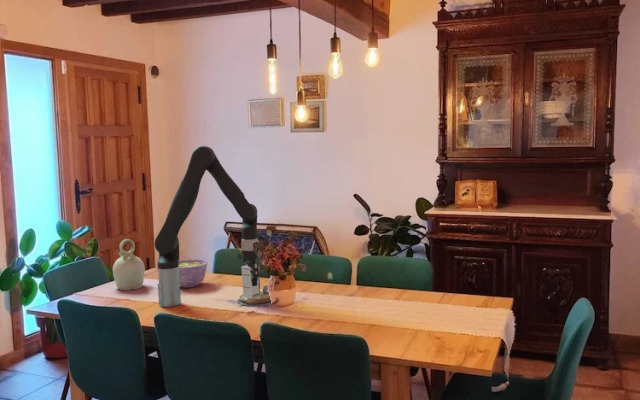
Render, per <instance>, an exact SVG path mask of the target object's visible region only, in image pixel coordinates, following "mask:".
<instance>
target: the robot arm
mask: <svg viewBox="0 0 640 400" xmlns="http://www.w3.org/2000/svg"><path fill="white" fill-rule="evenodd" d="M206 171H207V172H208V173H209V174H210V175H211V176H212V178H213V179H214V180H215V182H216V184H217V186H218V187H219V189H220V191H221V192H222V193H223V195H224V196H225V197H226V199H227V200H228V201H229V202H230V203H231V204H232V206H233V208H234V209H235V211H236V213H237V214H238V216H239V217H240V218H241V219H242V220H241V221H242V226H241V259H242V260H243V261H242V264H243V265H242V266H248V267H251V269H253V271H251V270H250V273H251V276H252V286H257V277H259V276H260V265H259V263H256V260H258V259H259V258H258V256H257V255H256V254H255V252H254V250H253V243H255V242H257V241H258V242H259V238H258V226H257V225H258V209H257V206H256V205H254V204H253V203H250V202H249V200H248V199H247V198H246V197H245V194H244V192H243V191H242V190H241V188H240V187H239V185H238V184H237V183H236V182H235V180H233V178H232V177H231V176H230V175H229V174H228V172H227V171H226V170H225V168H224V167H223V166H222V164H221V162H220V161H219V159H218V157H217V155H216V153H215V152H214V150H213V149H212V147H210V146H207V145H202V146H201V145H200V146H197V147H196V148H194V150H193V151H192V153H191V156H190V160H189V163H188V165H187V169H186V172H185V174H184V176H183V178H182V180H181V182H180V184H179V186H178V188H177V190H176V192H175V194H174V197H173V199H172V201H171V204H170V208H169V210H168V212H167V214H166V215H167V216H166V219H165V221H164V223H163V225H162V227H161V228H160V230H159V232H158V234H157V236H156V237H155V239H154V248H155V250H156V252H157V253H158V260H157V277H158V283H157V293H158V294H157V295H158V305H159V306H160V307H161V308H167V307H168V308H170V307H171V308H172V307H176V306H180V305H181V303H182V299H181V298H182V297H181V286H180V279H179V260H180V241H179V240H180V239H179V237H178V235H179V232H180V230H181V228H182V226H183V225H184V223H185V222H186V220H187V219H188V218H189V215H190V214H191V212H192V210H193V209H194V206H195V204H196V201H197V199H198V195H199V191H200V186H201V183H202V179H203V177H204V174H205V173H206Z"/></svg>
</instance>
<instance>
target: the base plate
mask: <svg viewBox="0 0 640 400" xmlns="http://www.w3.org/2000/svg"><path fill="white" fill-rule="evenodd" d="M237 304H238V305H237V306H238V307H242V306H244V307H263V306H269V304H270V305H272V304H271V302H268V303H262V304H246V303H242V302H240V298H238V299H237Z"/></svg>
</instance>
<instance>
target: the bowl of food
mask: <svg viewBox="0 0 640 400" xmlns="http://www.w3.org/2000/svg"><path fill="white" fill-rule="evenodd" d="M207 268H208V261H207V260H205V259H199V258H198V259H196V258H195V259H193V258H191V259H179V279H180V288H194V287H196V286H197V285H199V284H201V283H202V282H203V281H204V279H205V278H206V273H207Z"/></svg>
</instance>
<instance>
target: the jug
mask: <svg viewBox="0 0 640 400" xmlns="http://www.w3.org/2000/svg"><path fill="white" fill-rule="evenodd" d="M125 243H130V245H131V248H130V250H128V251H127V250H124V245H125ZM135 245H136V244H135V242H134V241H133V240H132V239H129V238H125V239H123V240H122V241H121V242H120V243H119V252H118V253H117V255H119V258H117V259H116V261H115V262H114V264H113V266H112V276H113V279H114V282H115V285H116V287H117V290H119V289H120V291H132V290H131V289H134V290H138V289H141V288H143V284H144V282H145V281H144V280H145V270H146V269H145V268H146V267H145V263H144V262H143V260H142V259H141V257H138V256H136V255H135V254H134V251H135V249H136V246H135Z"/></svg>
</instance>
